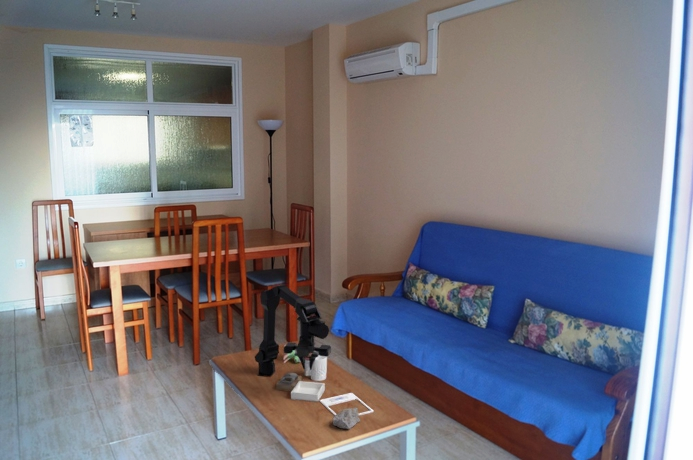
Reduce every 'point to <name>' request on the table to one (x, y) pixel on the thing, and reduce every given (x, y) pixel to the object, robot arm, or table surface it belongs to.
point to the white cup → (319, 368)
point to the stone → (346, 418)
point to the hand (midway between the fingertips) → (307, 369)
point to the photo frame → (342, 399)
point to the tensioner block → (288, 382)
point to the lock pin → (307, 365)
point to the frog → (291, 357)
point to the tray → (308, 391)
